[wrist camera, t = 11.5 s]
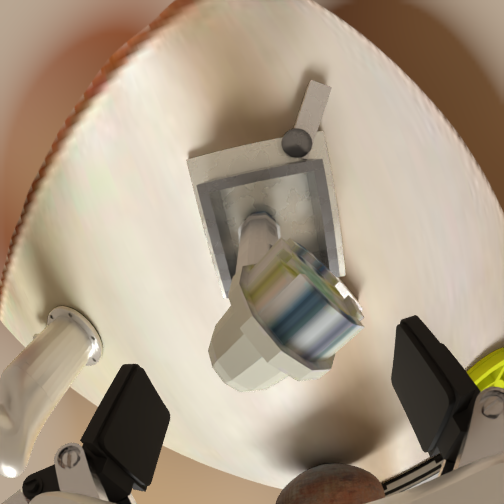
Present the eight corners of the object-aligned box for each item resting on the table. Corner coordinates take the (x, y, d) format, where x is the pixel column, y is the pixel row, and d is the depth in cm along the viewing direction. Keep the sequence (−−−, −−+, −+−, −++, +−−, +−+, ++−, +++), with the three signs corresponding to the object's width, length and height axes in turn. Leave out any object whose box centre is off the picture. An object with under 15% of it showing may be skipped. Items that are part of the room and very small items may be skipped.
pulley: (440, 437, 51) (445, 449, 46) (422, 401, 45) (430, 417, 40) (512, 380, 44) (520, 390, 40) (514, 325, 38) (526, 336, 33)
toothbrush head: (231, 227, 33) (158, 390, 9) (267, 183, 31) (278, 269, 7) (265, 254, 34) (262, 443, 10) (302, 213, 32) (388, 358, 8)
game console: (457, 456, 58) (464, 471, 50) (386, 495, 66) (389, 510, 58) (451, 444, 53) (459, 461, 46) (367, 488, 61) (371, 506, 53)
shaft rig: (235, 331, 39) (229, 363, 32) (178, 113, 30) (157, 103, 23) (358, 308, 37) (374, 336, 30) (324, 83, 28) (339, 65, 21)
